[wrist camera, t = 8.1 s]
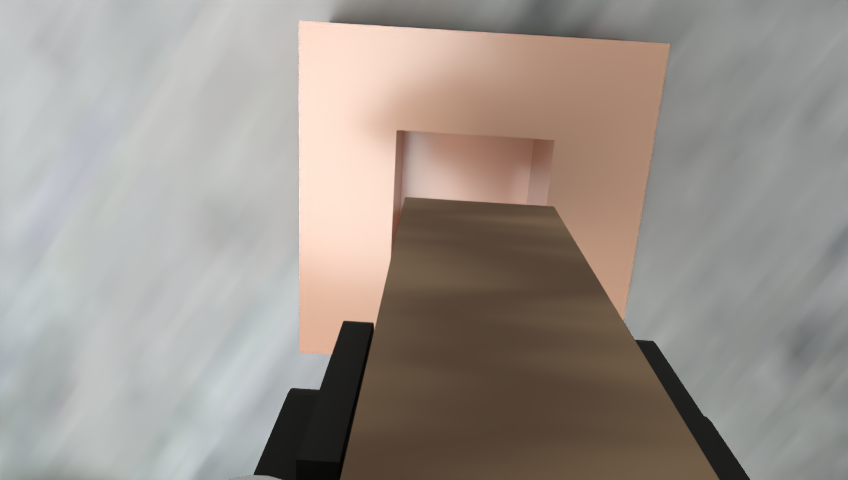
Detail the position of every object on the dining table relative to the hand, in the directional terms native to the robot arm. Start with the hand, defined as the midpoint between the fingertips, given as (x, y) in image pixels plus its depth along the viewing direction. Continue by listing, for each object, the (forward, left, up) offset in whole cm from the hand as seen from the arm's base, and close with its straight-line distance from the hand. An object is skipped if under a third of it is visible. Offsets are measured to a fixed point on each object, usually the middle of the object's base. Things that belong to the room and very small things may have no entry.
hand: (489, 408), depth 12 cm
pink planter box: (0, 0, -20) cm, 20 cm away
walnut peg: (0, 0, -7) cm, 7 cm away
